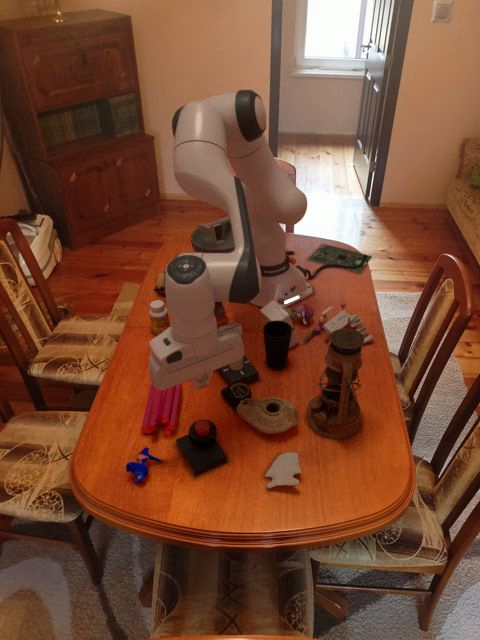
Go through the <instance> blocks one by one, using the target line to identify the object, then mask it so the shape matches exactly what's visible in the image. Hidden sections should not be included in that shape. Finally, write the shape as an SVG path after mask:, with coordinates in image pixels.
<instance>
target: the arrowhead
mask: <svg viewBox="0 0 480 640" xmlns="http://www.w3.org/2000/svg"><path fill="white" fill-rule="evenodd" d="M299 459H300V458H299V454H298V453H297V452H295V451H293V452H290V451H286V452H284V453H281V454H279V455H278V456H277V457H276V459H275V460H273V463H272V464H271V466H270V467H269V469H268V470H267V471H266V474H264V475H265V476H264V477H265V478H270V479H271V481H270V482H268V483H267V484H266V488H267V489H272V488H274V487H280V486H291V487H293V486H297V485H299V484H300V480H299V479H298V478H295V477H294V476H296V475H299V474H301V473H302V470H301V469H302V468H301V466H300V460H299Z"/></svg>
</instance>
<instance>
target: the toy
mask: <svg viewBox="0 0 480 640" xmlns="http://www.w3.org/2000/svg"><path fill="white" fill-rule="evenodd" d="M164 274H165V270H164V271H163V272H160V273H158V275H156V277H155V280H154V288H153V289H152V290H153V292H159V293H163V294H166V293H165V287H164Z"/></svg>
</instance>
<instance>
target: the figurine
mask: <svg viewBox="0 0 480 640" xmlns="http://www.w3.org/2000/svg"><path fill="white" fill-rule="evenodd" d="M149 450H150V448H149V447H147V446H145V447H144V448H142V449H141V451H139V452H138V453H137V454H136V455H135V457H136V458H135V459H136V461H130V462H127V463H126V465H125V471H126V473H131V474H132V475H133V477H134V478H135V484H141V482H143V481H144V480H145V479H146V477H147V476H148V475H149V467H148V466H147V465H146V463H147V462H148V460H150V461H154V462H159V463H163V461H162V460H161V459H160V458H158V457H155V456H154V455H152V454H149Z"/></svg>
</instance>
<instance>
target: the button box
mask: <svg viewBox="0 0 480 640" xmlns="http://www.w3.org/2000/svg"><path fill="white" fill-rule="evenodd" d="M202 420H204V421H207V422H208V423H209V424H210V433H209V434H208V435H207V436H204V437H200V436H198V435H197V434H196V433H195V424H196V423H197V422H198V421H202ZM217 437H218V427H217V426H216V423H214V422H213V421H212V420H209V419H198V420H196V421H194V422H192V424H191V425H190V426H189V428H188V434H185V435H183V436H181V437H178V438H176V439H175V443H176V447H177V448H178V450H179V452H180V454H181V456H182V457H183V459H184V462H185V463H186V464H187V466H188V468H189V469H190V472H191V473H192V475H193V477H195V478H196V477H198V476H199V475H201V474H204V473H206V472H208V471H210V470H212V469H215V468H217V467H219V466H221V465H223V464H225V463H228V456H227V454H226V452H225V451H224V449H223V448H222V446H221V444H220V443H219V442H218V440H217Z"/></svg>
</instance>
